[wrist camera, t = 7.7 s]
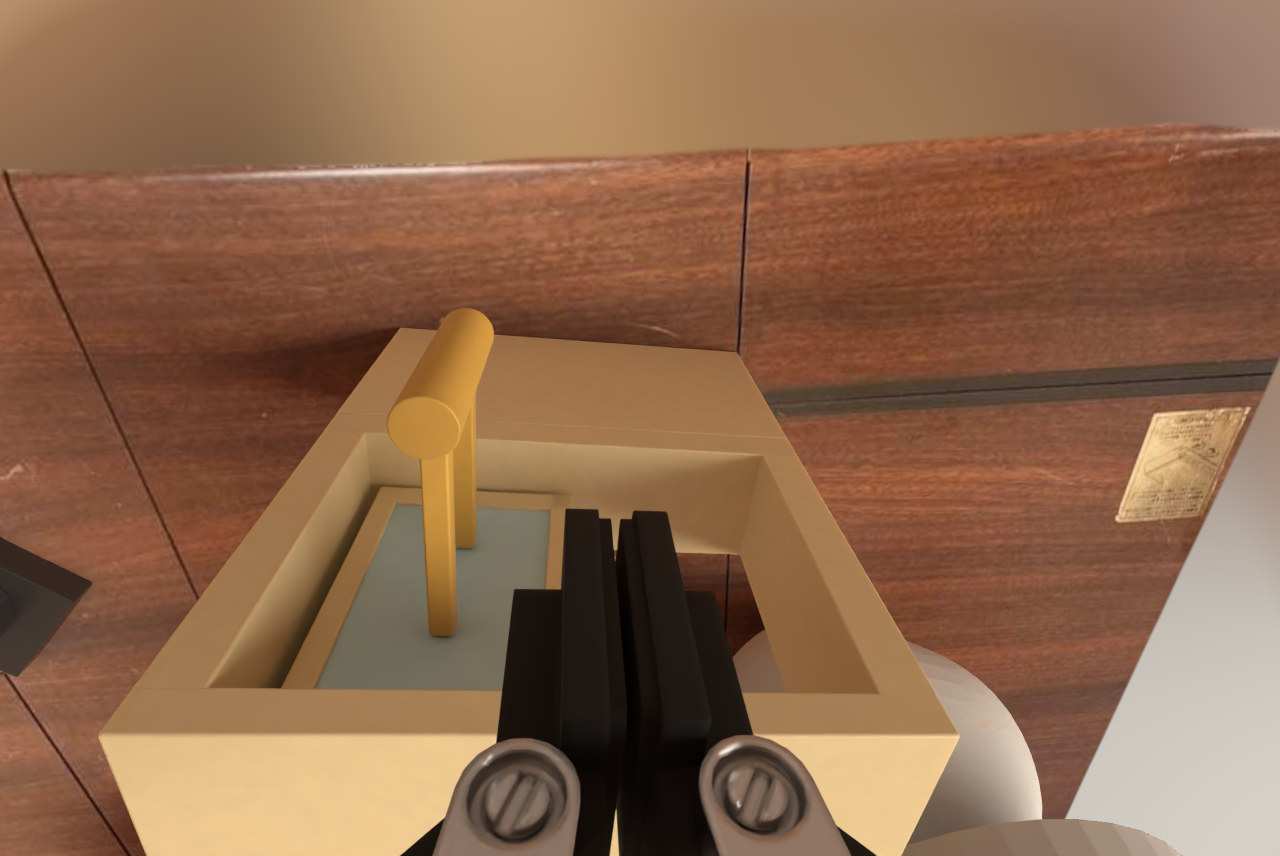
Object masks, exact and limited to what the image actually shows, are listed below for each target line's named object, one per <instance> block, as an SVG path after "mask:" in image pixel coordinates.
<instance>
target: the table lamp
mask: <svg viewBox="0 0 1280 856" xmlns="http://www.w3.org/2000/svg"><path fill="white" fill-rule="evenodd" d="M905 641H906V640H905ZM906 643H907V644H908V646H909V648H910V650H911V651H912V653H913V655H914V656H915V658H916V660H917V662H918V663H919V665H920V667H921V668H922V670H923V672H924V674H925V675H926V677H927V679H928V680H929V682H930V684H931V685H932V687H933V689H934V691H935V692H936V694H937V696H938V698H939V700H940V702H941V703H942V705H943V707H944V708H945V710H946V712H947V714H948V715H949V717H950V719H951V720H952V722H953V724H954V726H955V727H956V729H957V731H958V732H959V735H960V738H959V740H958V742H957V744H956V746H955V748H954V750H953V752H952V754H951V756H950V758H949V760H948V762H947V764H946V766H945V768H944V770H943V772H942V774H941V776H940V778H939V780H938V782H937V784H936V786H935V788H934V790H933V792H932V794H931V796H930V798H929V800H928V803H927V805H926V807H925V809H924V811H923V813H922V815H921V817H920V819H919V821H918V823H917V825H916V827H915V829H914V831H913V833H912V835H911V837H910V839H909V841H908V843H907V845H906V847H905V849H904V851H903V853H902V855H901V856H1182V855H1181V854H1180V853H1178V852H1177V851H1176V850H1175V849H1173V848H1172V847H1171V846H1169V845H1168V844H1167V843H1166V842H1164V841H1162V840H1160V839H1158V838H1156V837H1153V836H1151V835H1149V834H1147V833H1145V832H1143V831H1140V830H1136V829H1132V828H1129V827H1124V826H1120V825H1117V824H1113V823H1106V822H1097V821H1088V820H1079V819H1042V800H1041V793H1040V786H1039V781H1038V777H1037V773H1036V769H1035V765H1034V762H1033V759H1032V756H1031V754H1030V751H1029V748H1028V746H1027V744H1026V742H1025V740H1024V737H1023V735H1022V733H1021V731H1020V730H1019V728H1018V726H1017V725H1016V723H1015V721H1014V719H1013V718H1012V716H1011V714H1010V713H1009V712H1008V710H1007V709H1006V708H1005V706H1004V705H1003V704H1002V703H1001V701H1000V700H999V699H998V698H997V697H996V696H995V694H994V693H993V692H992V691H991V690H990V689H989V688H988V687H986V686H985V685H984V684H983V683H982V682H981V681H980V680H979V679H978V678H976V677H975V676H974V675H972V674H971V673H970V672H968V671H967V670H966V669H964V668H963V667H961V666H959V665H958V664H956V663H954V662H953V661H951V660H949V659H947V658H945V657H943V656H942V655H940V654H938V653H935V652H933V651H931V650H929V649H926V648H924V647H921V646H919V645H916V644H913V643H911V642H908V641H906ZM733 662H734V665H735V669H736V673H737V676H738V680H739V684H740V687H741V691H742V692H755V693H787V692H786V689H785V686H784V683H783V680H782V677H781V674H780V672H779V669H778V666H777V663H776V660H775V657H774V654H773V651H772V648H771V645H770V642H769V639H768V636H767V633H766V630H763V631H762V632H760V633H758V634H757V635H755V636H754V637H753V638H752V639H751V640H750V641H748V642H747V643H746V644H745V645H744V646H743V647H741V648H740V650H739V651H738V652H737V653H736V654H735V656H734V657H733Z"/></svg>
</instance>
